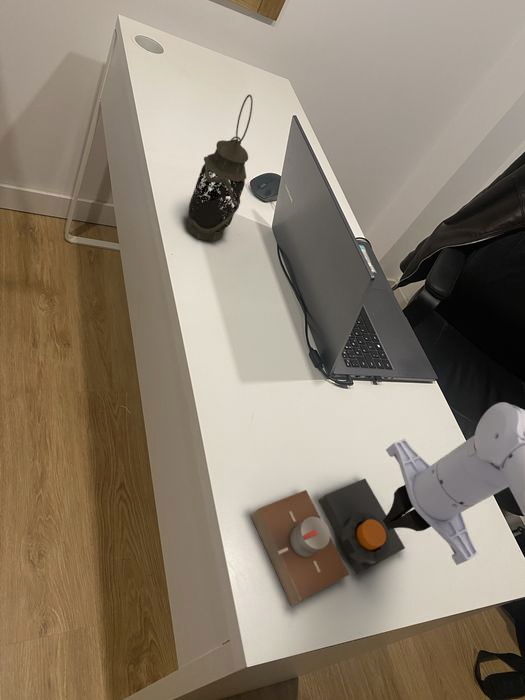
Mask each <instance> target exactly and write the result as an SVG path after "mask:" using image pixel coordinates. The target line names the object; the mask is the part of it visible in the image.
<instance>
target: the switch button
mask: <svg viewBox="0 0 525 700" xmlns="http://www.w3.org/2000/svg"><path fill="white" fill-rule="evenodd" d="M356 536H357V539H358V542H359V543H360V544H361V546H362V547H364V548H365V549H367V550H374V549H376V548H378V547H380V546H382V545H383V544H384V542H385V540H386V533H385V530H384V528H383V526H382V525H381V524H380V523H379V522H378V521H376V520H373V519H369V520H366V521H365V522H363V523H362V524H360V525H359V526H358V528H357V531H356Z"/></svg>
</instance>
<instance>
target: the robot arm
mask: <svg viewBox="0 0 525 700" xmlns="http://www.w3.org/2000/svg"><path fill="white" fill-rule="evenodd" d="M385 451H386V453H387V454H388V456H389V457H390V458H393V457H394V458H395V460H396V461H397V464H398V466H399V469H400V472H401V476H402V480H403V482H404V485H401V486H399V487H398V488H397V489H396V490H395V491H394V493H393V501H392V504H391V507H390V509H389V511H388V513H387V514H386V517H385V518H384V519H383V522H384V524H385V525H386V527H387V529H388V530H390V529H410V530H413V531H415V532H424V531H425V530H427V529H429V528H432V529H433V530H434V531H435V532H436V533H437V534H438V535H439V536H440V537H441V538H442V539H443V540H444V541H445V542H446V543H447V544H448V546H449V547H450V549H451V550H452V552H453V554H451V559H452V560H453V562H454V563H455V565H457V566H458V565H460V564H464V563H466V562H468V561H469V560H471V559H472V558H474V557H475V556H477V555H479V552H478V550H477V548H476V547H475V545H474V543H473V541H472V539H471V537H470V534H469V530H468V528H467V526H466V523H465V520H464V517H463V514H462V513H463V512H465V511H467V510H468V509H470V508H472V507H473V506H476V505H477V504H479V503H481V502H483V501H485V500H487V499H489V498H491V497H492V496H494V495H496V494H498V493H501V492H502V491H503V490H505V489H507V488H509V490H510V491H511V493H512V496H513V498H514V499H515V501H516V503H517V505H518V507H519V510H520V512H521V513H522V515H523V516H524V518H525V409H523V408H520V407H519V406H517V405H515V404H510V403H508V402H505V401H504V402H497V403H495V404H493V405H492V406H490V407H489V408H488V409H487V410H486V411H485V412H484V414H483V415H482V416H481V417H480V419H479V421H478V423H477V426H476V429H475V432H474V435H472V436H471V437H469V438H468V439H467V440H465V441H464V442H463V443H461V444H459V445H458V446H457V447H455V448H454V449H452V450H450V452H448V453H446V454H445V455H444V456H442V457H441V458H440V459H438V460H437V461H435V462H434V463H432V464H431V465H430V464H429V463H427V461H426V460H425V459H424V458H422V457H421V456H420V455H419V453H417V452H416V451H415V450H414V449H413V447H412V446H411V445H410V444H409V442H408V441H407V439H406V438H403V439H400V440H398V441H395V442H393V443H392V444H391V445H390V446H388V447H387V448H385Z"/></svg>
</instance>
